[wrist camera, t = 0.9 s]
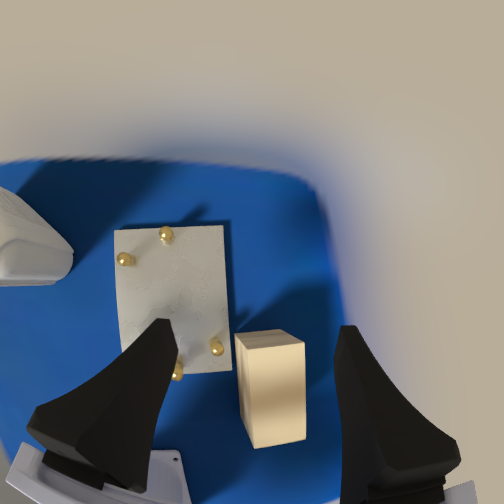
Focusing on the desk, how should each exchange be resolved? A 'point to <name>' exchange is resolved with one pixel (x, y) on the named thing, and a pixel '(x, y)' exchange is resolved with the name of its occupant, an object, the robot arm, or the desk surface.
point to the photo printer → (29, 246)
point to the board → (271, 386)
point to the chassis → (176, 292)
